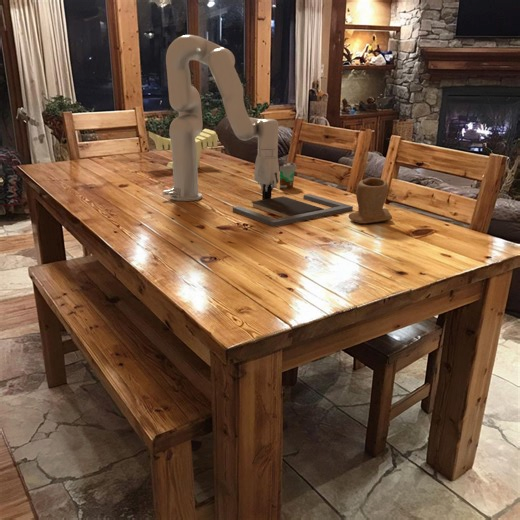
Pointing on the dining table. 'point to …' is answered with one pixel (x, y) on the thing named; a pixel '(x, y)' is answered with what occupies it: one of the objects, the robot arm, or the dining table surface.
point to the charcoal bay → (300, 217)
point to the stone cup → (371, 201)
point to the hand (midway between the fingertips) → (266, 200)
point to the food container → (287, 175)
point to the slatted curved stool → (201, 140)
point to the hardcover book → (284, 206)
